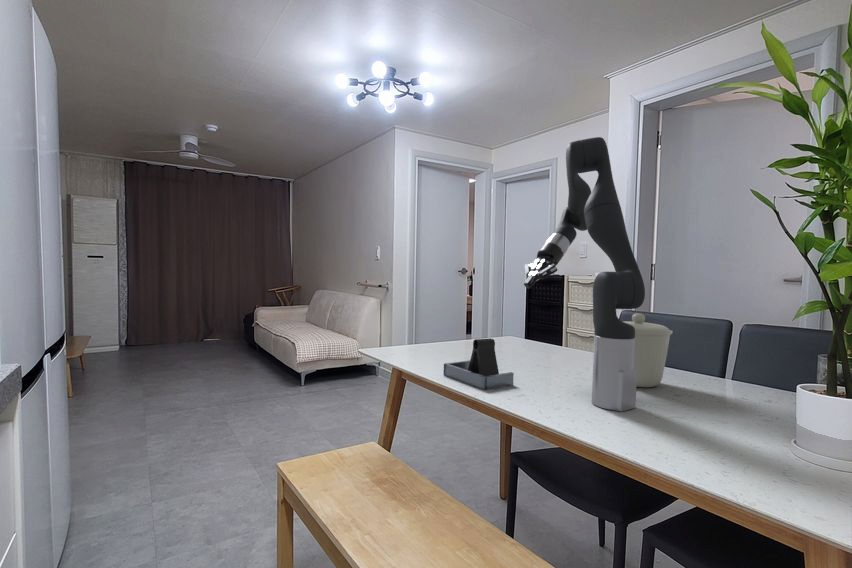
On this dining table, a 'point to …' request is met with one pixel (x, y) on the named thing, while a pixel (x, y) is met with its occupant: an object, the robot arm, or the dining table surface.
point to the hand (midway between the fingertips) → (526, 286)
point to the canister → (649, 350)
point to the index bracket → (476, 376)
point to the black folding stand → (483, 357)
